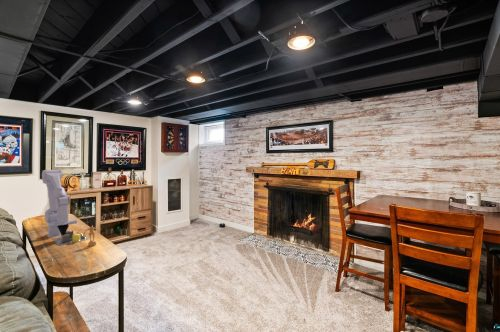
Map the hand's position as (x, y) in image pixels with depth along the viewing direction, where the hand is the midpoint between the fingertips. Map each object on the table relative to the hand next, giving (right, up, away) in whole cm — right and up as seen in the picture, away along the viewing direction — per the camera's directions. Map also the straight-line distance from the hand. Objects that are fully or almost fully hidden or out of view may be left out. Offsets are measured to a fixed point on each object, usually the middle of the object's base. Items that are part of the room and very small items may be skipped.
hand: (63, 236), depth 151 cm
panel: (+6, -2, -1) cm, 6 cm away
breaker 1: (+2, -1, +2) cm, 3 cm away
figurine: (+25, -3, -10) cm, 27 cm away
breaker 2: (+6, -1, -5) cm, 8 cm away
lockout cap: (+12, -1, -4) cm, 12 cm away
